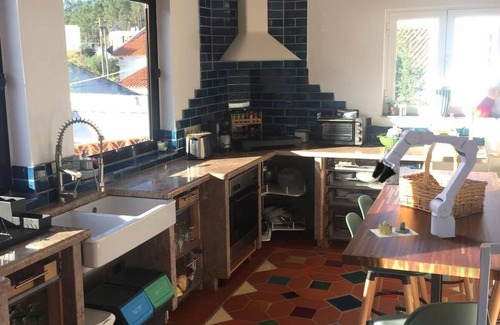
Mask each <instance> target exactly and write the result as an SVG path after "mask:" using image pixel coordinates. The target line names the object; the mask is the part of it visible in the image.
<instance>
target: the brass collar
mask: <svg viewBox="0 0 500 325" xmlns="http://www.w3.org/2000/svg"><path fill="white" fill-rule="evenodd" d="M377 226H378V228H377V229H378V232H379V233H380V234H385V235H386V234H391V233H392V228H393V225H392V224H391V223H388V222H387V226H383V222H381V223H379V224H378V225H377Z"/></svg>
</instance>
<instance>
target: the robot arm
mask: <svg viewBox="0 0 500 325" xmlns="http://www.w3.org/2000/svg"><path fill="white" fill-rule="evenodd" d="M434 143H437V144H445V145H447V144H448V145H451V146H452V147H453V148H454V150H455V151H456V153H457V154H458V155H459V158H460V159H459V160H460V163H459V165H458V167H457V168H456V169H455V171H454V173H453V175H451V177H450V179H449V181H448V183H447V184H446V186H444V188H443V190H442V191H441V192H440V193H438V194H437V195H436V196H435V197H434V198H433V199H432V200H431V201H430V202H429V209H430V211H431V216H430V217H431V222H430V234H432V235H434V236H437V237H439V238H441V239H443V238H455V237H456V219H455V217H454V215H451V214H452V211H453V207H454V205H455V202H454V199H455V197H456V195H457V194H458V192H459V191H460V189H461V188H462V187H463V184H464V183H465V181H466V180H467V178H468V176H469V175H470V174H471V172H472V170H473V168H474V167H475V165H476V164H477V156H478V152H479V146H478V143H477V142H476V141H475V140H474V139H467V138H465V137H461V136H457V135H445V134H444V135H443V134H434V133H433V131H430V130H429V129H425V131H424V130H419V129H417V128H415V129H414V130H412V129H405V130H403V131H401V132H400V135H399V139H398V140H397V141H396V142H395V143H394V146H393V148H392V149H391V150H390V152H389V153H388V154H387V156H386V157H385V158H384V157H383V156H382V157H381V158H380V160H379V161H378V160H376V162H375V167H374V170H373V172H372V173H371V174H372V175H371V177H372V178H374V179H375V180H377V181H378V182H379V183H380V184H383V183H385V181H386V180H387V179H388V178H390V177H391V176H393V175H395V174H396V173H395V172H394V170H395V171H396V170H397V168H398V167H397V166H396V165H397V164H398V163H399V161H400V162H401V160H402V159H403V157H404V156H405V154H407V152H408V151H409V150H410V148H411V147H412V146H413V145H422V146H423V145H426V146H432V145H433V144H434ZM388 164H389V165H390V166H389V165H388Z"/></svg>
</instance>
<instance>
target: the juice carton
mask: <svg viewBox="0 0 500 325" xmlns="http://www.w3.org/2000/svg"><path fill="white" fill-rule="evenodd" d="M394 145H395V144H394ZM394 145H391V144H390V145H389V146H385V147H384V153H383V155H384V158H385V157H386V156H387V154H388V153H389V152H390V150H391V149H392V148H393V146H394ZM388 165H389V164H388ZM389 166H390V165H389ZM396 166H397V167H398V168H397V170H396V171H395V170H394V172H395V173H396V174H395V175H393V176H391V177H390V178H388V179H387V180H386V181H384V183H385V185H398V184H399V182H400V175H401V174H400V167H401V160H400V161H399V163H398V164H397V165H396Z"/></svg>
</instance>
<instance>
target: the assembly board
mask: <svg viewBox="0 0 500 325" xmlns="http://www.w3.org/2000/svg"><path fill="white" fill-rule="evenodd" d="M382 223H383V226H387V223H388V220H387V221H386V220H384V221H383V222H382ZM369 231H371V232H372V233H373V234H374V235H376V237H378V238H389V237H391V238H392V237H405V236H406V237H407V236H419V235H420V234H419V233H417V232H416V231H414V229H413V230H412V229H411V228H409V226H406V222H405V221H399V227H392V233H391V234H386V235H385V234H380V233H379V232H378V228H371V229H369Z"/></svg>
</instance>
